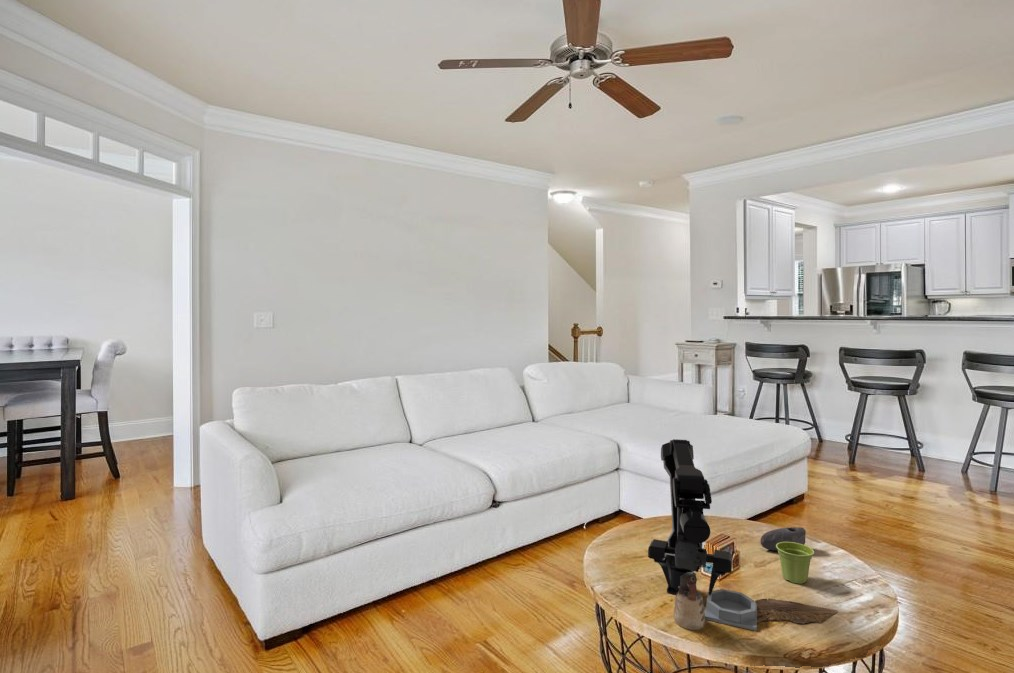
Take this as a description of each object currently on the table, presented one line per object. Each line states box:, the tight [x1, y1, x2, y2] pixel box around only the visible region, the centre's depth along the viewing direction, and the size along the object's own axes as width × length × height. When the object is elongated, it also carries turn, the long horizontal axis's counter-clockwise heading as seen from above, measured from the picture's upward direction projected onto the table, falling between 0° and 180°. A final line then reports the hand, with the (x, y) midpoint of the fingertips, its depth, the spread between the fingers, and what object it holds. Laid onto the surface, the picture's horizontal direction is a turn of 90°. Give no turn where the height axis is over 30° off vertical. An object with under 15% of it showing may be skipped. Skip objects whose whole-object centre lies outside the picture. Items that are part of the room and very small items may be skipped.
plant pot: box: [776, 542, 815, 585], centre depth 148 cm, size 9×9×9 cm
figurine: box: [673, 572, 706, 631], centre depth 127 cm, size 7×7×12 cm
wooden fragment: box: [754, 597, 838, 625], centre depth 131 cm, size 26×11×1 cm, turn 85°
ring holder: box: [704, 588, 758, 632], centre depth 131 cm, size 12×12×3 cm
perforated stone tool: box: [759, 526, 807, 552], centre depth 167 cm, size 15×5×7 cm, turn 91°
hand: (689, 590), depth 127 cm, fingers open, 9 cm apart
